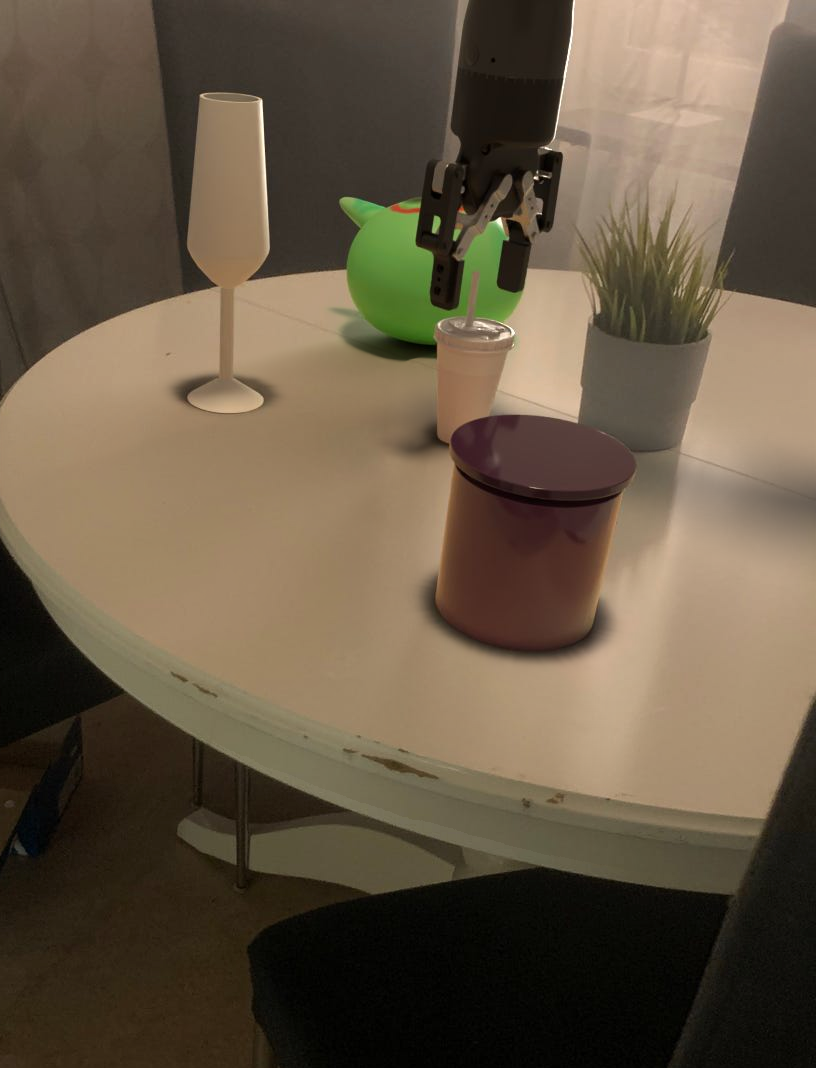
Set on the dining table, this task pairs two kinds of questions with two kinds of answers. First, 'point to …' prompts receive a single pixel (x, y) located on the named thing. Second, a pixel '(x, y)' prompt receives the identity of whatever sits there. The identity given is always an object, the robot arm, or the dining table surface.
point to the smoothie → (468, 366)
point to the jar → (529, 529)
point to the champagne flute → (228, 224)
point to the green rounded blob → (416, 272)
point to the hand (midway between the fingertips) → (477, 298)
